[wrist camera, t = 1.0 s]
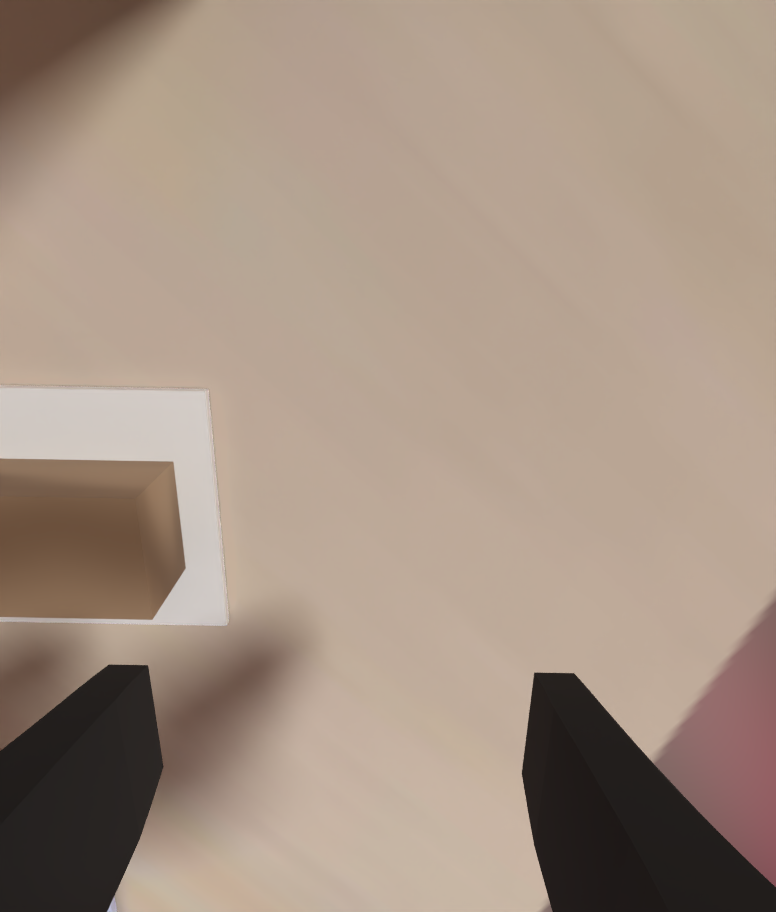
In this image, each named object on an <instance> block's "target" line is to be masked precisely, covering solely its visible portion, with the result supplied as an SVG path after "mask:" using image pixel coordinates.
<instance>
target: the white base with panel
mask: <svg viewBox="0 0 776 912" xmlns="http://www.w3.org/2000/svg"><path fill="white" fill-rule="evenodd" d="M0 458H2V459H58V460H114V461H170V462H174V471H175V480H176V488H177V497H178V505H179V514H180V523H181V531H182V540H183V548H184V557H185V566H186V569H185V570H184V572H183V573H182V575H181V577H180V578H179V580H178V581H177V583H176V584H175V586H174V587H173V589H172V590H171V592H170V594H169V595H168V597H167V598H166V600H165V601H164V603H163V604H162V606H161V607H160V609H159V611H158V612H157V614H156V615H155V617H154V618H153V620H135V619H81V618H27V617H0V622H44V623H98V624H152V625H206V626H227V624H228V622H229V610H228V599H227V588H226V577H225V566H224V555H223V544H222V533H221V522H220V511H219V500H218V489H217V477H216V466H215V455H214V444H213V433H212V422H211V411H210V400H209V389H199V388H142V387H85V386H28V385H0Z"/></svg>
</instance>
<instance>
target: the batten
mask: <svg viewBox="0 0 776 912" xmlns="http://www.w3.org/2000/svg"><path fill="white" fill-rule="evenodd" d="M185 569H186V566H185V557H184V548H183V540H182V531H181V523H180V514H179V505H178V497H177V488H176V480H175V471H174V462H170V461H114V460H58V459H2V458H0V617H27V618H81V619H135V620H153V618H154V617H155V615H156V614H157V612H158V611H159V609H160V607H161V606H162V604H163V603H164V601H165V600H166V598H167V597H168V595H169V594H170V592H171V590H172V589H173V587H174V586H175V584H176V583H177V581H178V580H179V578H180V577H181V575H182V573H183V572H184V570H185Z"/></svg>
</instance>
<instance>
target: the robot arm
mask: <svg viewBox="0 0 776 912" xmlns="http://www.w3.org/2000/svg"><path fill="white" fill-rule="evenodd" d="M162 769H163V761H162V755H161V748H160V742H159V735H158V728H157V722H156V715H155V708H154V702H153V695H152V689H151V682H150V675H149V669H148V665H108V666H107V667H105V668H104V669H103V670H101V671H100V672H99V673H97V674H96V675H95V676H93V677H92V678H91V679H90V680H88V681H87V682H86V683H85V684H83V685H82V686H81V687H80V688H78V689H77V690H76V691H75V692H73V693H72V694H71V695H70V696H68V697H67V698H66V699H65V700H63V701H62V702H61V703H60V704H59V705H57V706H56V707H55V708H54V709H52V710H51V711H50V712H49V713H47V714H46V715H45V716H44V717H43V718H41V719H40V720H39V721H38V722H36V723H35V724H34V725H33V726H31V727H30V728H29V729H28V730H26V731H25V732H24V733H23V734H21V735H20V736H19V737H17V738H16V739H15V740H14V741H12V742H11V743H10V744H9V745H7V746H6V747H5V748H4V749H2V750H1V751H0V912H117V907H116V903H115V898H114V895H115V893H116V891H117V889H118V887H119V884H120V882H121V880H122V878H123V875H124V873H125V871H126V869H127V866H128V864H129V862H130V860H131V857H132V855H133V853H134V851H135V848H136V846H137V844H138V841H139V839H140V836H141V834H142V831H143V828H144V825H145V822H146V819H147V816H148V813H149V810H150V807H151V804H152V801H153V798H154V795H155V791H156V788H157V785H158V782H159V779H160V775H161V772H162ZM522 777H523V783H524V789H525V795H526V801H527V807H528V813H529V818H530V824H531V829H532V835H533V840H534V846H535V849H536V853H537V857H538V861H539V864H540V868H541V871H542V875H543V879H544V882H545V886H546V889H547V893H548V897H549V900H550V904H551V908H552V911H553V912H776V887H775V886H774V885H773V884H771V883H770V882H769V881H768V880H767V879H766V878H765V877H764V876H763V875H762V874H761V873H760V872H759V871H758V870H757V869H756V868H754V867H753V866H752V865H751V864H750V863H749V862H748V861H747V860H746V859H745V858H744V857H743V856H742V855H741V854H740V853H739V852H738V851H737V850H736V849H735V848H734V847H733V846H732V845H731V844H730V843H729V842H728V841H727V840H726V839H725V838H724V837H723V836H722V835H721V834H720V833H719V832H718V831H717V830H716V829H715V828H714V827H713V826H712V825H711V824H710V823H709V822H708V821H707V820H706V819H705V818H704V817H703V816H702V815H701V814H700V813H699V812H698V811H697V810H696V809H695V808H694V806H693V805H692V804H691V803H690V802H689V801H688V800H687V799H686V798H685V797H684V796H683V795H682V794H681V793H680V792H679V791H678V789H676V787H675V786H674V785H673V784H672V783H671V782H670V781H669V780H668V779H667V778H666V777H665V776H664V774H663V773H662V772H661V771H660V770H659V769H658V768H657V767H656V766H655V765H654V764H653V763H652V761H651V760H650V759H649V758H648V757H647V756H646V755H645V754H644V753H643V752H642V750H641V749H640V748H639V747H638V746H637V745H636V744H635V743H634V741H633V740H632V739H631V738H630V737H629V736H628V735H627V733H626V732H625V731H624V730H623V729H622V728H621V727H620V725H619V724H618V723H617V722H616V721H615V720H614V719H613V717H612V716H611V715H610V714H609V713H608V712H607V710H606V709H605V708H604V707H603V706H602V705H601V704H600V702H599V701H598V700H597V699H596V698H595V697H594V695H593V694H592V693H591V692H590V691H589V690H588V688H587V687H586V686H585V685H584V684H583V683H582V682H581V680H580V679H579V678H578V677H577V676H576V675H575V674H574V673H534V680H533V688H532V696H531V704H530V712H529V720H528V728H527V737H526V745H525V753H524V761H523V769H522Z"/></svg>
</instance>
